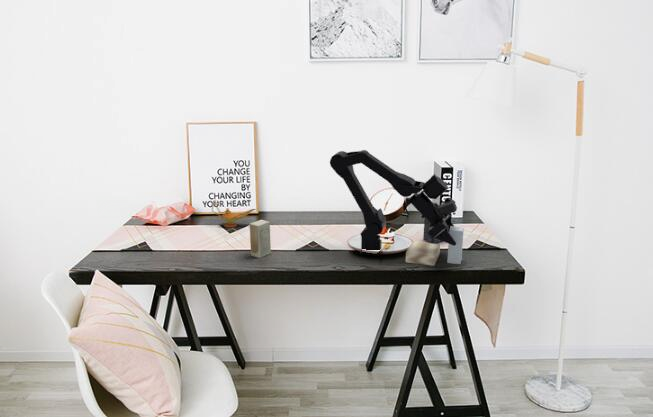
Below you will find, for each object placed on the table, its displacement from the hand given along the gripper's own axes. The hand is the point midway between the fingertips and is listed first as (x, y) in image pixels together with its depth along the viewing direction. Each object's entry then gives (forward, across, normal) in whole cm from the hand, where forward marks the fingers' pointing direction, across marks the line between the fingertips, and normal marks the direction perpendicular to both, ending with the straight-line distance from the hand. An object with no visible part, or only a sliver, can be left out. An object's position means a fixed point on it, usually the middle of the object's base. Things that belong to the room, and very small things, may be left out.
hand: (456, 240), depth 214 cm
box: (-1, +20, +12) cm, 23 cm away
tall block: (+5, 0, +6) cm, 8 cm away
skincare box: (-42, -14, +53) cm, 69 cm away
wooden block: (-2, 0, +14) cm, 14 cm away
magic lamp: (-59, +14, +69) cm, 92 cm away
